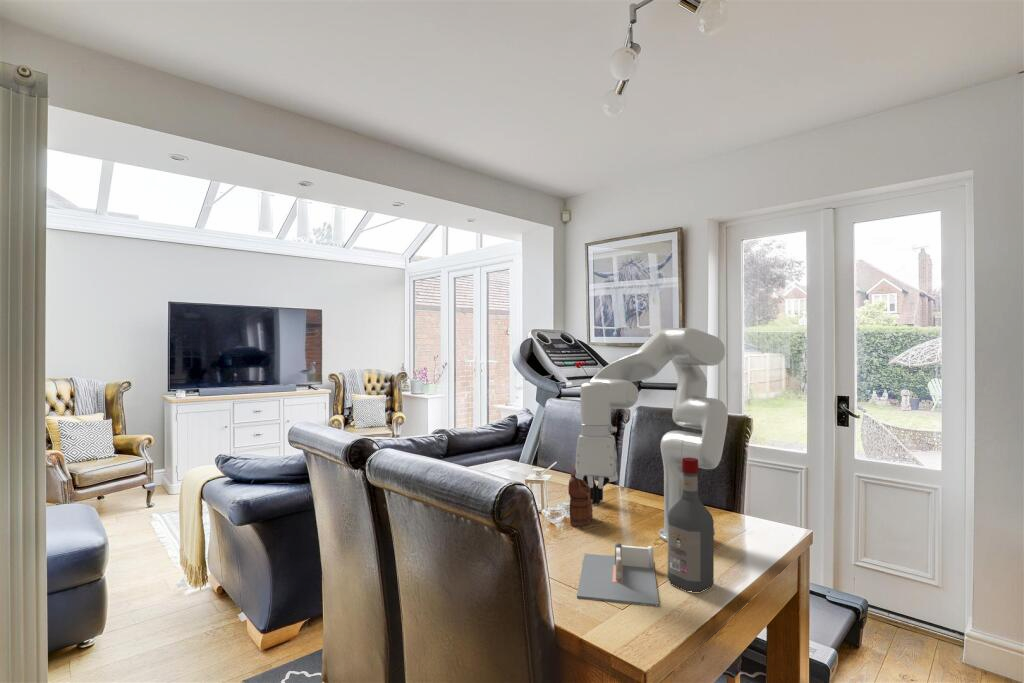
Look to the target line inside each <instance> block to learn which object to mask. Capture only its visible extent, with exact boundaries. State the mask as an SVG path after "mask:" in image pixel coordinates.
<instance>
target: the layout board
mask: <svg viewBox="0 0 1024 683" xmlns="http://www.w3.org/2000/svg"><path fill="white" fill-rule="evenodd" d="M616 547H617V548H620V554H621V560H622V581H616ZM654 551H655V550H654V546H651V545H648V546H647V547H646V546H635V545H622V543H621V542H615V543H614V555H608V554H607V555H606V554H605V555H604V554H593V553H584V555H583V560H582V566H581V572H580V577H579V582H578V587H577V593H576V598H577V599H583V598H587V599H586V600H592V599H596V600H595V601H602V600H603V601H605V602H611V601H612V602H611V603H614V602H615V603H623V604H630V603H631V605H632V604H634V605H640V604H646V605H645V606H649V605H657V606H656V607H660V604H659V602H660V601H659V596H658V595H659V594H658V588H657V580H656V573H655V565H654V563H655V562H654V561H655V560H654Z"/></svg>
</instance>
